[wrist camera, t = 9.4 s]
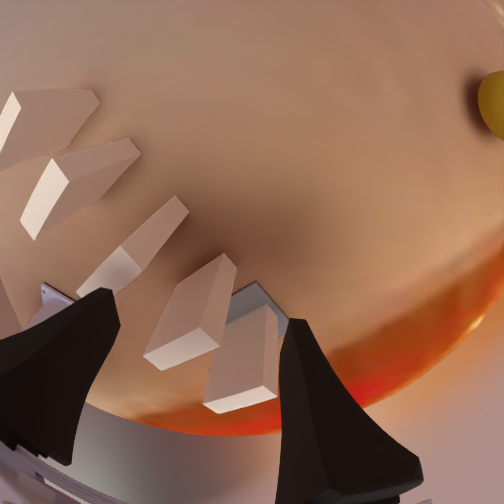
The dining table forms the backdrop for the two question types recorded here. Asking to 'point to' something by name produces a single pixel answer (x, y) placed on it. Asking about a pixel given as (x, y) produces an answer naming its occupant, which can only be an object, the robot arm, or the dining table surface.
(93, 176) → the tile
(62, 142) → the head tile
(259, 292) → the end marker
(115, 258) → the tile
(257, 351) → the tile
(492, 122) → the lemon
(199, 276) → the tile
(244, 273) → the dining table surface
